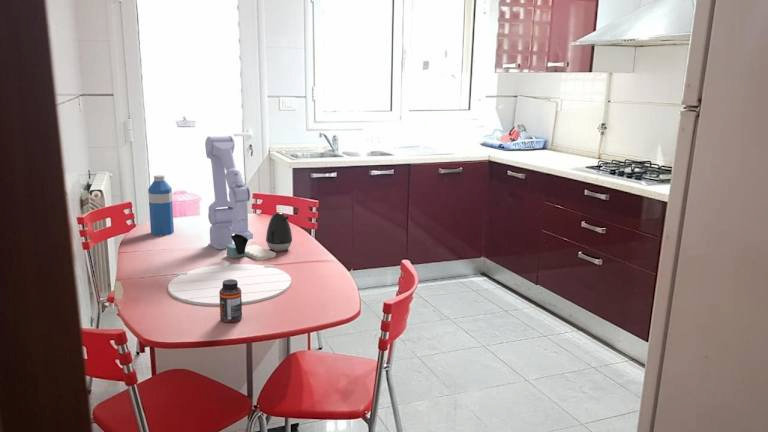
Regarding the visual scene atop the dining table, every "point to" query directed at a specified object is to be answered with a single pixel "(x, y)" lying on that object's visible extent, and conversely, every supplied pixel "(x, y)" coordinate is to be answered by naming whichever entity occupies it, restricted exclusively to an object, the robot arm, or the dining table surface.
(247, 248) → the white slotted box
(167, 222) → the water bottle
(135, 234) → the dining table surface
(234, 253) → the pale blue cube
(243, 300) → the lazy susan
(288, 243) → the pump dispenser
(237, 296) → the supplement bottle
